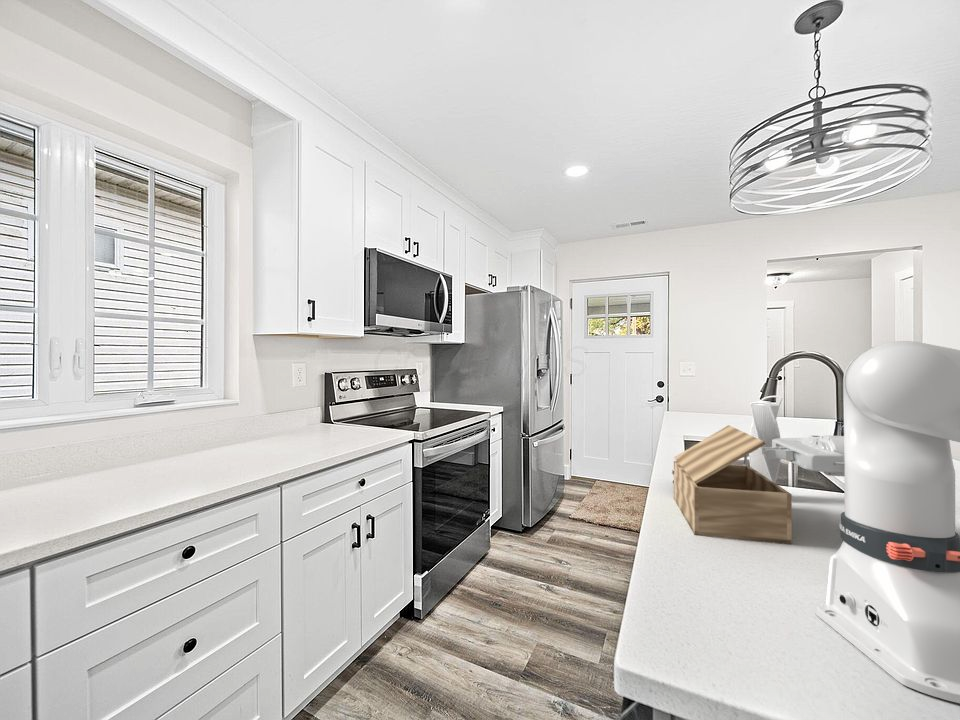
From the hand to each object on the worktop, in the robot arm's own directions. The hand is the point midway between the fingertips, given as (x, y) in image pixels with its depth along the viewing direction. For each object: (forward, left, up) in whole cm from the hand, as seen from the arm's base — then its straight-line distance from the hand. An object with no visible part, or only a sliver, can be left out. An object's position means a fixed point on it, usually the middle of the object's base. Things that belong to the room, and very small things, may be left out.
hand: (764, 452), depth 101 cm
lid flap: (0, +10, -1) cm, 10 cm away
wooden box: (0, +8, -16) cm, 18 cm away
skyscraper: (+21, -7, -16) cm, 27 cm away
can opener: (+22, +13, -16) cm, 30 cm away
